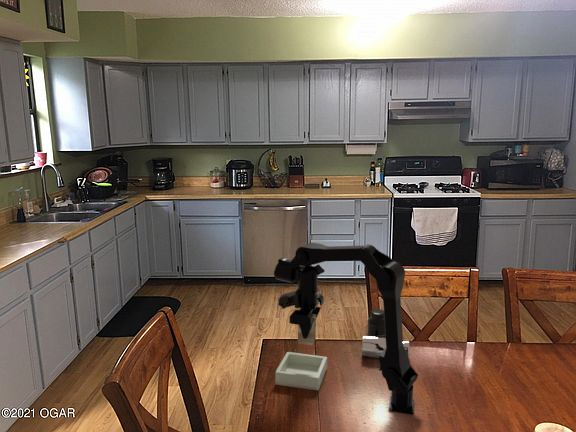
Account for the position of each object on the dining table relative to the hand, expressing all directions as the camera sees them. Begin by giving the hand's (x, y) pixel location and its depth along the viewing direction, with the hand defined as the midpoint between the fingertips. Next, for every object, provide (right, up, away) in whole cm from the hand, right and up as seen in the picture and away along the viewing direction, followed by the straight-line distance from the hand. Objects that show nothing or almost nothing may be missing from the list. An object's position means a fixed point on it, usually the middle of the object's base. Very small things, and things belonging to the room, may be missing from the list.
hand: (307, 334), depth 145 cm
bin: (-1, -13, +2) cm, 13 cm away
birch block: (0, -2, 0) cm, 2 cm away
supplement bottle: (+25, -9, +23) cm, 35 cm away
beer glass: (+34, -8, +12) cm, 37 cm away
